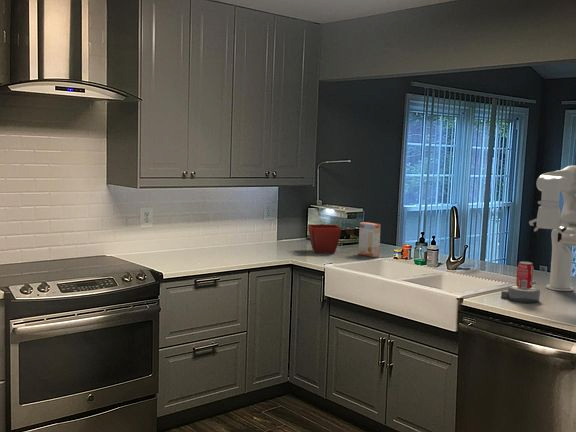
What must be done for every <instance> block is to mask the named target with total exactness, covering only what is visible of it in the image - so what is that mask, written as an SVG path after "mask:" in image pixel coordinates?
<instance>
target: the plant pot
mask: <svg viewBox="0 0 576 432" xmlns="http://www.w3.org/2000/svg"><path fill="white" fill-rule="evenodd" d="M307 227H308V236H309V239H310V240H309V241H310V245H311V248H312V251H313V252H314V253H317V254H318V253H319V254H321V253H324V254H335V253H336V250H337V247H338V244H339V240H340V237H341V234H342V233H341V232H342V227H341V226H339V225H337V224H308V226H307Z"/></svg>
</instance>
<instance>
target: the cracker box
mask: <svg viewBox="0 0 576 432" xmlns="http://www.w3.org/2000/svg"><path fill="white" fill-rule="evenodd" d="M381 230H382V229H381V224H380V223H373V222H368V221H367V222H366V221H364V222H363V221H362V222H361V221H360V222H359V233H358V235H359V236H358V252H357V254H358V255H361V256H365V257H370V258H379V257H380V245H381Z"/></svg>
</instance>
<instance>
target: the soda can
mask: <svg viewBox="0 0 576 432" xmlns="http://www.w3.org/2000/svg"><path fill="white" fill-rule="evenodd" d="M533 264H534V263H533V262H530V261H523V260H522V261H519V263H518V264H517V268H516V283H515V284H516V285H515V286H517V287H518V288H520V289H530V288H532V287H533V283H534V271H535V270H534V268H535V267H534V265H533Z"/></svg>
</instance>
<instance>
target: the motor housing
mask: <svg viewBox="0 0 576 432" xmlns="http://www.w3.org/2000/svg"><path fill="white" fill-rule="evenodd" d="M540 296H541V290H540V289H538V288H535V287H533V286H532V288H530V289H520V288H518V287H517V286H516V285H511V286H508V287H507V290H504V289H503V290H501V296H500V298H501V299H507V300H509V301H510V302H514V303H519V304H528V305H529V304H531V305H533V304H534V305H535V304H539V303H540Z"/></svg>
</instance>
